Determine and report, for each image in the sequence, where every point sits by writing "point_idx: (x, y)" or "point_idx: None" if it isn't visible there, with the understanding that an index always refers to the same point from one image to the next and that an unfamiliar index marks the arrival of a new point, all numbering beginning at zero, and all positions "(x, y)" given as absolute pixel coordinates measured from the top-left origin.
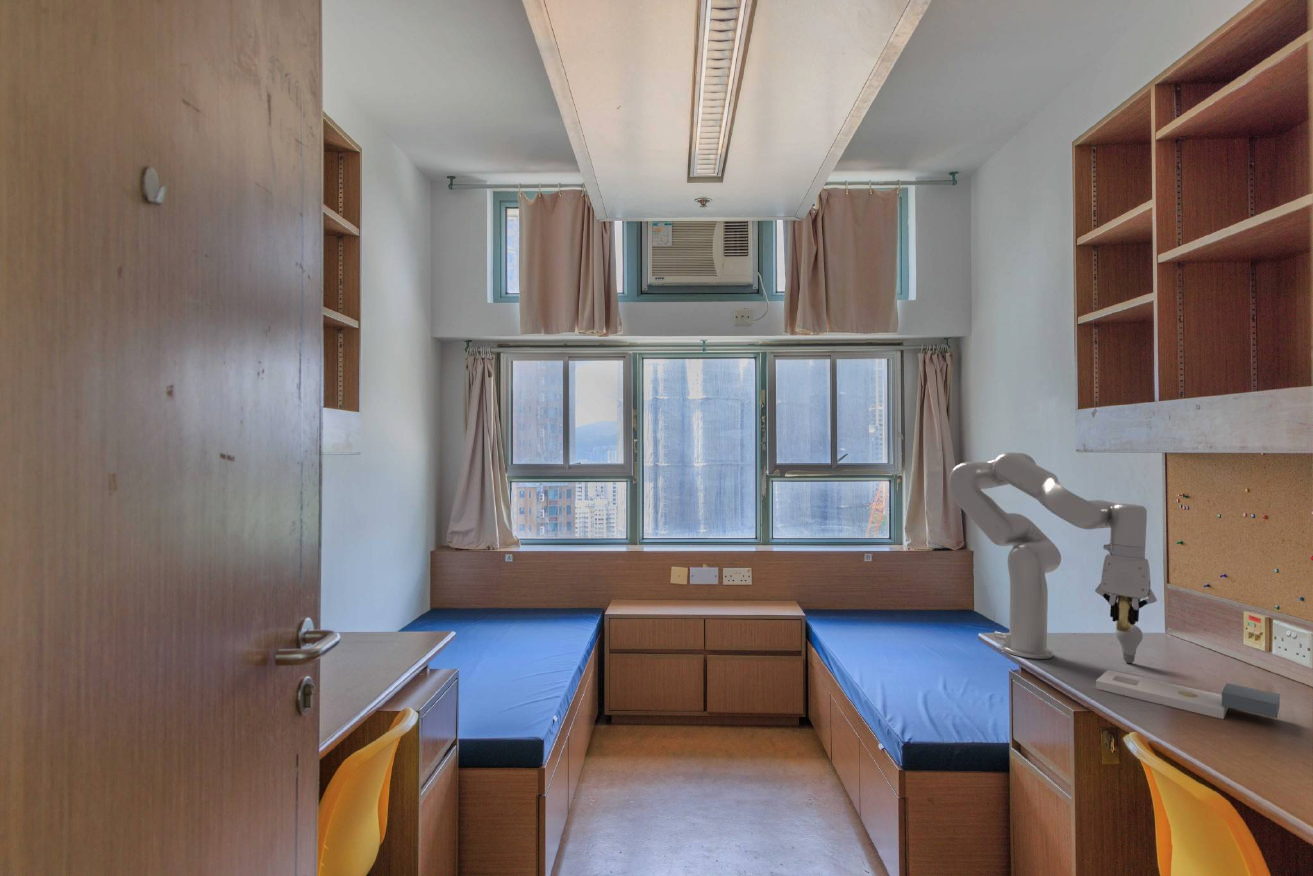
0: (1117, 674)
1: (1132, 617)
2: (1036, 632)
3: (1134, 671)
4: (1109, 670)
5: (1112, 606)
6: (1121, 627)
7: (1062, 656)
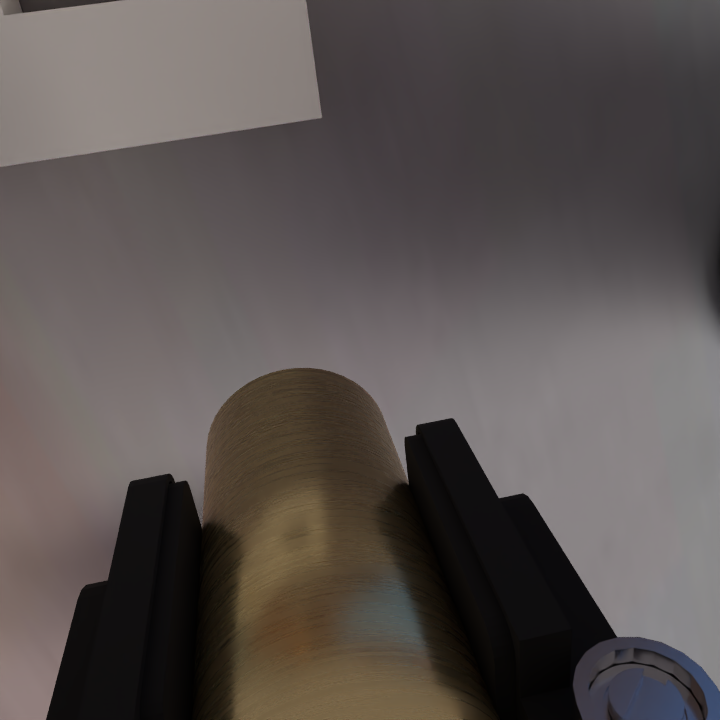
0: (214, 38)
1: (125, 567)
2: None
3: None
4: (306, 110)
5: (583, 654)
6: (301, 398)
7: (670, 349)
